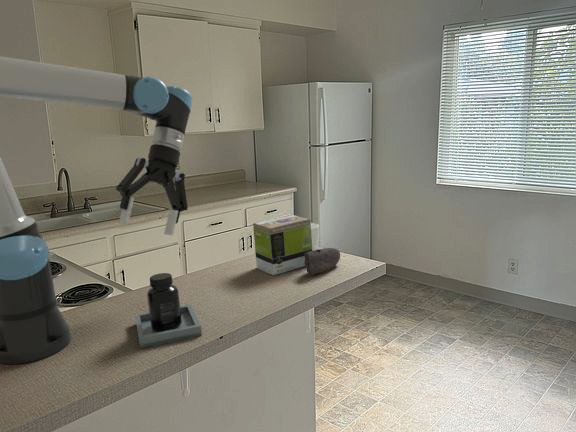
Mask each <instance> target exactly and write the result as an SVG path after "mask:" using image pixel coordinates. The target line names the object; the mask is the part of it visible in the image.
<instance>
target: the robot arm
mask: <svg viewBox="0 0 576 432" xmlns="http://www.w3.org/2000/svg"><path fill="white" fill-rule="evenodd" d="M0 97H3V98H10V99H11V98H13V99H21V100H28V101H29V100H31V101H37V102H39V101H40V102H48V103H56V104H57V103H58V104H65V105H75V106H84V107H91V108H92V107H93V108H101V109H102V108H103V109H110V110H111V109H112V110H121V111H125V112H129V113H131V114H135V115H138V116H140V117H143V118H146V119H147V118H148V120H149V119H150V120H153V121H155V126H154V131H153V134H152V137H151V145H150V147H149V153H148V154H147V159H148V160H146V158H144V157H138V158H136V159H135V161H134V164H133V166H132V167H131V169H129V171H128V172H127V174H126V175H125V176H124V177H123V178H122V179H121V181H120V182H119V184H117V186H116V187H115V189H116V191H117V192H119V194H120V195H121V200H120V206H119V208H120V209H121V212H120V216H119V220H118V224H122V225H129V221H130V218H131V213H132V209H133V206H134V200H135V197H132V196H133V195H134V194H135V193H137V192H139V190H140V189H142V188H143V187H145V186H146V185H147V184H148V183H149V182H152V183H156V184H157V185H160V186H162V187H163V188H164V190H165V192H166V195H167V198H168V201H169V203H170V206H171V208H172V209H169V210H168V215H167V218H166V219H167V220H166V225H165V228H164V235H165V236H166V235H167V236H174V232H175V227H176V224H178V222H179V219H180V215H181V212H184V211H188V209H189V208H188V203H187V202H188V200H187V192H186V187H185V177H186V174H185V173H183V172H176V168H177V166H178V164H179V162H180V158H181V157H180V156H181V152H180V151H181V150H182V149H183V148H182V147H183V145H184V144H183V143H184V139H185V134H186V129H187V126H188V121H189V118H190V114H191V111H192V110H191V109H192V105H193V104H192V103H193V96H192V94H191V92H189V91H188V90H186V89H185V88H183V87H179V86H178V87H177V86H175V85H167V86H166V84H165V83H164V82H163V81H161V80H160V79H159V78H158V77H157V78H156V77H153V76H152V77H151V76H145V77H144V76H143V77H141V76H136V75H135V76H133V75H125V74H120V73H115V72H107V71H101V70H100V71H99V70H92V69H88V68H87V69H86V68H80V67H74V66H66V65H61V64H53V63H47V62H40V61H33V60H27V59H20V58H13V57H8V56H1V55H0ZM144 169H145V170H146V172H144V173H143V174H142V175H141V176H140V177H139V178H138V176H139V175H140V174H141V172H142V171H143V170H144ZM137 178H138V179H137ZM136 179H137V180H136ZM135 180H136V181H135ZM50 258H51V257H50V250H49V246H48V244H47V242H46V241H45V239H44V238H43V237H42V234H41V232H40V229H39V226H38V225H37V221H36V220H35V219H34V218H32V217H31V216H28V215H26V214H25V212H24V209H23V208H22V205H21V203H20V200H19V198H18V195H17V193H16V191H15V189H14V186H13V184H12V181H11V179H10V176H9V174H8V172H7V169H6V167H5V164H4V162H3V159H2V158H1V156H0V364H5V365H18V364H19V365H21V364H26V363H31V362H35V361H37V360H41V359H44V358H47V357H49V356H52V355H53V354H56V353H58V352H60V351H61V350H63V349H64V348H65V347H67V346H68V344H69V343H70V342H71V341H72V340H71V339H72V332H71V329H70V326H69V324H68V322H67V320H66V319H65V317H64V315H63V314H62V312H61V310H60V308H59V307H58V304H57V296H56V292H55V290H56V289H55V285H54V281H53V280H54V279H53V274H52V267H51V261H50Z"/></svg>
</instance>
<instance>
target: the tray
mask: <svg viewBox="0 0 576 432" xmlns="http://www.w3.org/2000/svg"><path fill="white" fill-rule="evenodd" d="M180 311H181V320H182V323H181V325H180V326H179V327H178V328H177V329H173V330H168V331H163V332H156V331H154V330H153V329H152V328H151V322H150V315H149V311H147V312H142V313H137V314H134V316H135V324H136V331H137V338H138V343H139V348H140V349H145V348H149V347H155V346H158V345H163V344H169V343H175V342H177V341H182V340H187V339H192V338H196V337H197V338H198V337H201V336H203V335H202V325H201V324H200V321H199V320H198V317H197V315H196V313H195V310H194V308H193V306H192V304H185V305H180Z"/></svg>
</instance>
